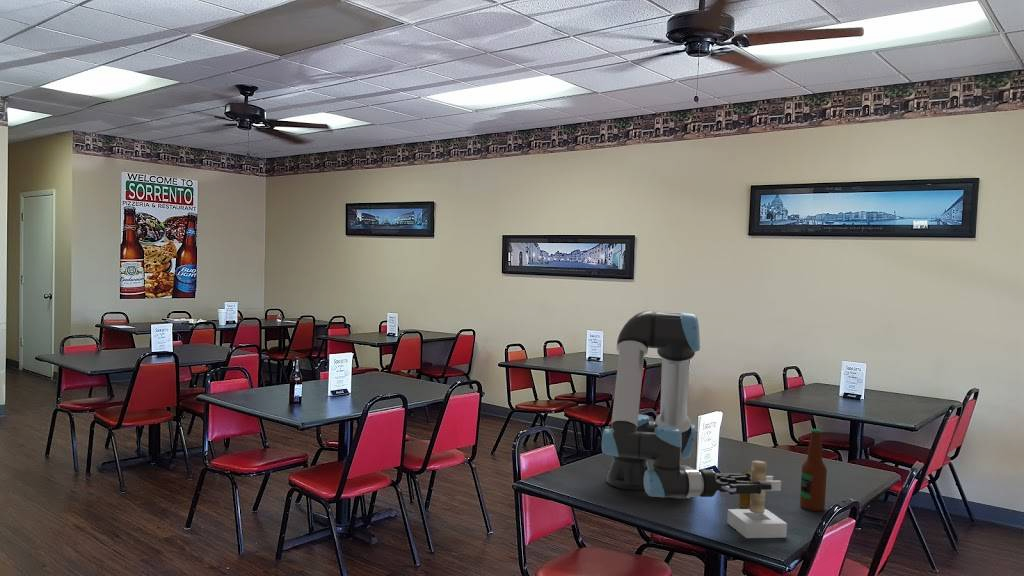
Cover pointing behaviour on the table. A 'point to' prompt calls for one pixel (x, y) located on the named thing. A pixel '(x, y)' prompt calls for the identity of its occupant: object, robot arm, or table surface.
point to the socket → (757, 524)
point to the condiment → (744, 497)
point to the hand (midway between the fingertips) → (776, 483)
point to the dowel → (757, 475)
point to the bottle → (813, 476)
